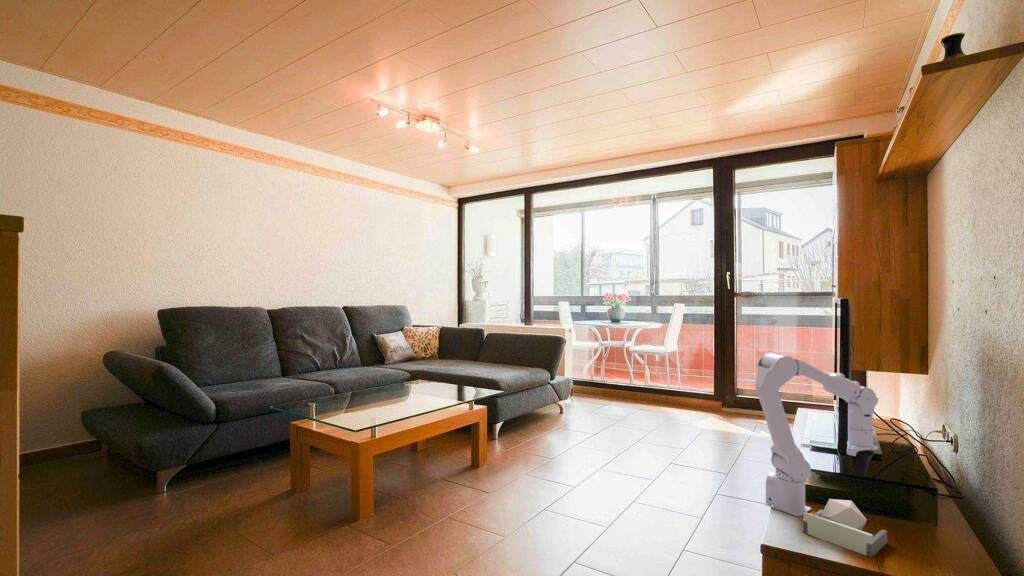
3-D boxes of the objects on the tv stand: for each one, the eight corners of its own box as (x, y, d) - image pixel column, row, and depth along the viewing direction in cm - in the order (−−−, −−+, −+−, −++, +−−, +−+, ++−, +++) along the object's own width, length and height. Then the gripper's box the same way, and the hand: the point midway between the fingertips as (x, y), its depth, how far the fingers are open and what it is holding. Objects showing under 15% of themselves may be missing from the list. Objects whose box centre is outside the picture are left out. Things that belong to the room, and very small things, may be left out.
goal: (803, 532, 124) (803, 512, 124) (820, 520, 131) (820, 501, 131) (871, 557, 112) (871, 535, 112) (887, 543, 119) (887, 522, 119)
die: (862, 549, 117) (878, 512, 119) (824, 525, 120) (841, 489, 122) (845, 545, 125) (861, 510, 127) (810, 522, 128) (826, 489, 130)
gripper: (867, 435, 130) (868, 486, 130) (885, 427, 139) (885, 474, 139) (838, 429, 136) (838, 478, 136) (856, 421, 145) (856, 467, 145)
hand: (860, 475), depth 138 cm, fingers closed
